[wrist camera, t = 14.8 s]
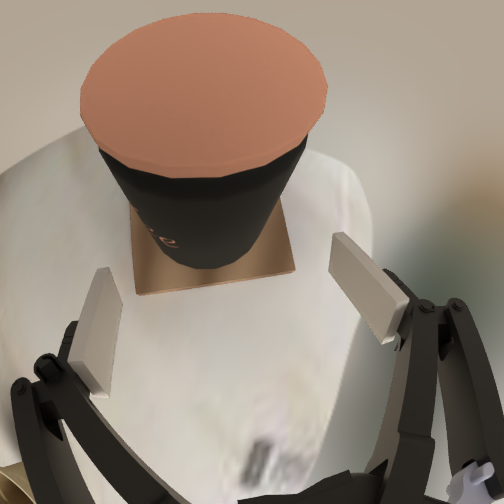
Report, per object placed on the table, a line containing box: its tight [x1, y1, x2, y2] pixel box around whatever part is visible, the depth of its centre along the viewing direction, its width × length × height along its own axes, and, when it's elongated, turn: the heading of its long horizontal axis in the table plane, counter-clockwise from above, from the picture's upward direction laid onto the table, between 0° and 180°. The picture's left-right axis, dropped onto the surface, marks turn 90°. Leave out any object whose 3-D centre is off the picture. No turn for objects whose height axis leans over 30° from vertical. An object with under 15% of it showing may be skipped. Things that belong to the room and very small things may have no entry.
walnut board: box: [130, 197, 295, 295], centre depth 28 cm, size 15×13×2 cm
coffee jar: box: [80, 13, 328, 269], centre depth 18 cm, size 11×11×18 cm
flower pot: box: [0, 461, 36, 504], centre depth 14 cm, size 9×9×9 cm
